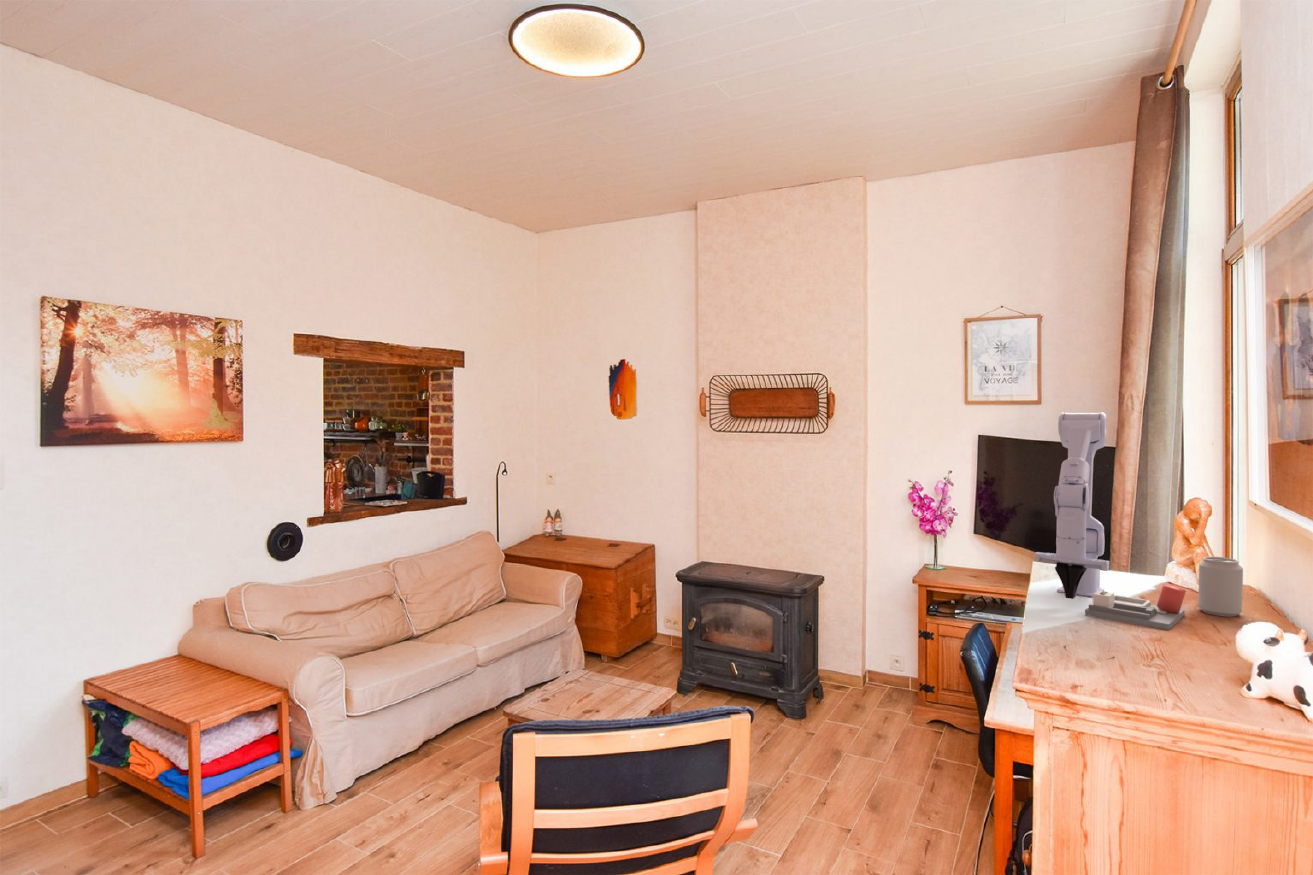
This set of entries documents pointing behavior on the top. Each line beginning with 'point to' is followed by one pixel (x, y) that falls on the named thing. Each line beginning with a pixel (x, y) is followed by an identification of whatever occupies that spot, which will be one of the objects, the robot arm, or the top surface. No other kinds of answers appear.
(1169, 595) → the red rounded cube
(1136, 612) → the panel
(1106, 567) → the robot arm
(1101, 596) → the breaker
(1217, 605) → the can
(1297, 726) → the top surface
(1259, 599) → the top surface
